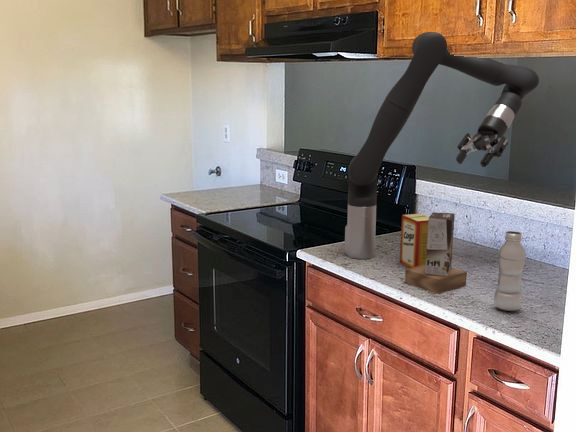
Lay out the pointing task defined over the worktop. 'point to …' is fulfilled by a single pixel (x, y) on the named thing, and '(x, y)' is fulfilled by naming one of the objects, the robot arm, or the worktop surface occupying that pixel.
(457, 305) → the worktop surface
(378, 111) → the robot arm
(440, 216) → the coffee box
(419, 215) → the baking soda box
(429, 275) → the brown flat square block
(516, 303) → the plastic bottle
